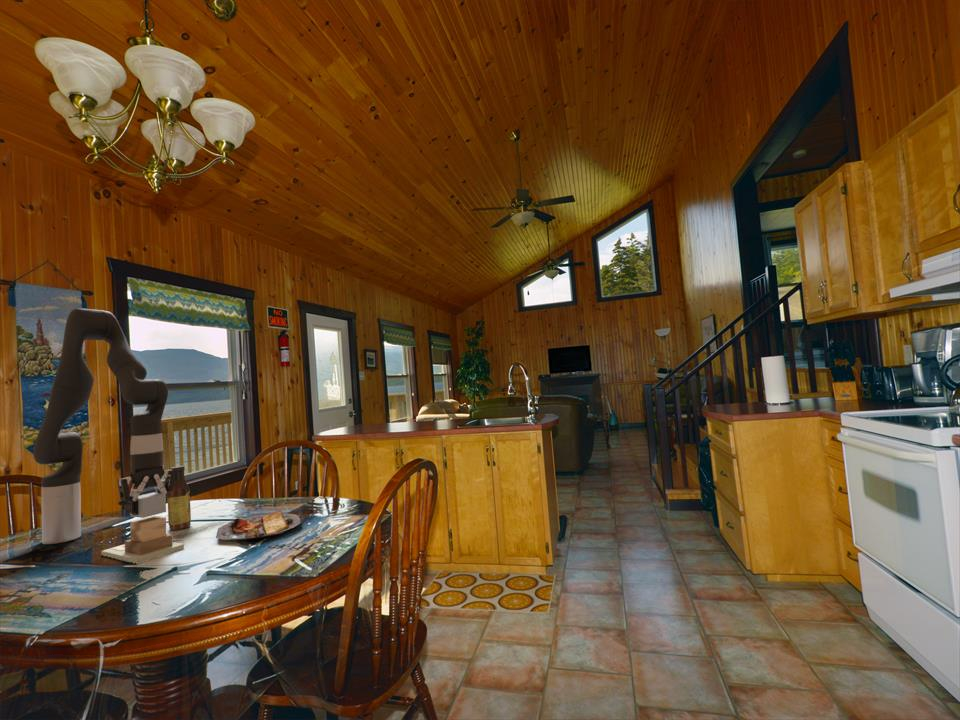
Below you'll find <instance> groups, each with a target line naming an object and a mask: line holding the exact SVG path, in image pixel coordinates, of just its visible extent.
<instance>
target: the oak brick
mask: <svg viewBox="0 0 960 720" xmlns="http://www.w3.org/2000/svg"><path fill="white" fill-rule="evenodd" d="M166 517H167V516H159V515H152V516H148V517H145V518H139V519H135V520H132V521H131V520H130V522H129V523H130V524H129V526H130V531H129V532H130V539H131V540H133V541H138V542H146V541H149V540H153V539H156V538H160V537H163V536H166V534H167V518H166Z"/></svg>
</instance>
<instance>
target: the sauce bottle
mask: <svg viewBox="0 0 960 720" xmlns="http://www.w3.org/2000/svg"><path fill="white" fill-rule="evenodd" d="M185 468H186V467H185V466H184V465H177V466H172V467H170V468H169V470H175V478H174V487H173V490H172V491H169V492H168V493H167V497H166V503H167V516H168V517H167V518H168V519H167V520H168V526H169V527H168V529H169V530H170V531H177V530H183V529H187V528H189V527H190V526H191V520H192V515H191V514H192V513H191V512H192V511H191V496H190V495H191V492H190V487H189V486H188V483H187V480H186V478H185V470H186V469H185Z"/></svg>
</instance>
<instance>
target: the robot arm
mask: <svg viewBox="0 0 960 720" xmlns="http://www.w3.org/2000/svg"><path fill="white" fill-rule="evenodd" d="M86 340H87V341H105V342H106V343H107V344H108V345H109V346H110V347H109V349H108V352H107V356H106V362H107V366H108V367H109V370H110V371H111V372H112V373H113V375H114V376H115V377H116V379H117V381H118V383H119V387H120V390H121V391H120V392H121V396H122V397H121V398H122V399H123V400H124V402H125V403H127V404H129V405H131V406H132V405H133V406H140V405H141V406H144V405H147V406H146V409H145V410H144V411H142V412H141V413H136V414H133V416H131V418H130V442H129V443H130V444H129V446H130V448H129V451H130V452H129V456H130V457H129V458H130V463H129V464H130V474H129V476H127V477H123V478H118V479H117V487H118V494H119V498H120V501H124V502H125V501H126V502H128V512H129V514H130V513H131V514H132V515H138V514H139V510H138V501H137V499H138V497H139V496H140V494H141V493H143V491H144V489H148V488H151V487H152V488H153V489H154V490H155V491H156V493H162V494H166V495H168V492H169V491H172V490H173V487H174V478H175V470H170V469H166V470H165V469H164V441H163V440H164V439H163V435H162V432H163V431H162V429H163V428H162V419H163V415H164V410H165V407H166V404H167V401H168V396H169V389H168V385H167V384H166V383H165V381H163V380H162V379H157V378H156V379H154V378H153V379H151V378H150V379H146V377H147V369H146V367H145V366H144V365H143V363H142V362H141V361H140V360H139V358H138V357H137V356H136V354H135V352H134V351H133V350H132V349H131V347H130V344H129V343H128V340H127V338H126V335H125V334H124V332H123V329H122V327H121V325H120V323H119V321H118V320H117V318H116V316H115V315H114V314H113V313H112V312H111V311H108V310H107V311H106V310H103V309H92V308H81V307H79V308H74V309H72V310H71V311H70V313H69V314H68V316H67V319H66V323H65V328H64V333H63V343H62V349H61V352H60V353H61V355H60V358H59V363H58V366H57V370H56V374H55V377H54V379H53V384H52V386H51V387H52V388H51V391H50V396H49V401H48V405H47V408H46V412H45V415H44V418H43V421H42V423H41V425H40V428H39V431H38V433H37V436H36V438H35V442H34V446H33V452H32V453H33V455H32V456H33V459H34V461H35V462H36V463H37V464H39V465H53V464H59V463H61V466H60V467H59V468H58V469H57V470H55V471H54V472H51V473H49V474H47V475H44V476H43V477H42V478H41V483H40V484H41V490H40V491H41V544H43V545H54V544H60V543H61V544H62V543H65V542H69V541H72V540H76V539H79V538H80V537H81V536H82V505H81V504H82V500H81V498H82V497H81V496H82V495H81V493H82V492H81V477H82V471H83V451H84V448H83V447H84V446H83V445H84V444H83V439H82V436H81V435H80V434H79V433H78V432H77V431H76V432H75V431H70V432H69V431H68V432H61V430H62V428H64V425H65V424H66V423H67V422H68V421H69V420H70V419H71V418H73V416H75V415H76V414H77V413H78V412H79V411H80V410H81V409H82V408H83V407H84V406H85V405H86V404H87V403H88V401H89V400H90V397H91V394H92V390H93V387H94V382H95V380H94V375H93V373H92V371H91V369H90V368H89V366H88V364H87V363H86V361H85V358H84V355H83V346H84V342H85V341H86ZM163 477H164V478H165V480H164V483H163V481H162V478H163ZM130 483H133V484H132V486H131V488H130V489H129V486H130Z"/></svg>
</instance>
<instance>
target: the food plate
mask: <svg viewBox="0 0 960 720" xmlns="http://www.w3.org/2000/svg"><path fill="white" fill-rule="evenodd" d="M301 521H302V520H301V518H300V516H299V515H298V514H295V513H286V512H282V511H281V510H280V509H278V510H277V511H273V512H271V513H265V514H256V515H251V516H247V517H242V518H240V517H237V518H235V519H234V520H232V521H229V522H228V523H226V524H223V525H221V526H220V527H218V528H217V531H216V534H215V535H216V536H215V538H216V539H219V540H222V541H227V540H229V541H230V540H231V541H235V540H236V541H237V540H239V541H242V540H243V541H249V540H257V539H262V538H267V537H270V536H271V537H272V536H276V535H282V534H284V533H285V532H286V531H289V530H290V529H293V528H295V527H297V526H298V525H300V524H301ZM263 534H264V535H263ZM235 537H236V538H235ZM242 537H243V538H242Z"/></svg>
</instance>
